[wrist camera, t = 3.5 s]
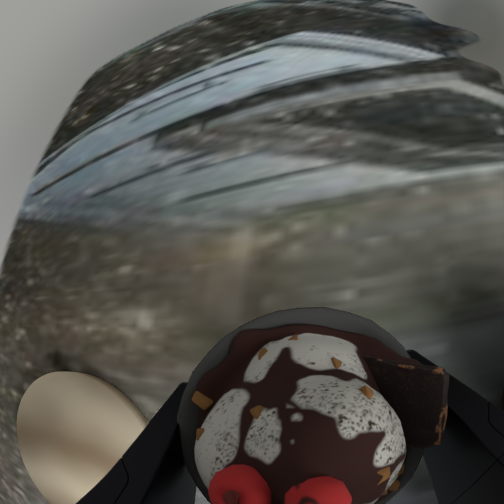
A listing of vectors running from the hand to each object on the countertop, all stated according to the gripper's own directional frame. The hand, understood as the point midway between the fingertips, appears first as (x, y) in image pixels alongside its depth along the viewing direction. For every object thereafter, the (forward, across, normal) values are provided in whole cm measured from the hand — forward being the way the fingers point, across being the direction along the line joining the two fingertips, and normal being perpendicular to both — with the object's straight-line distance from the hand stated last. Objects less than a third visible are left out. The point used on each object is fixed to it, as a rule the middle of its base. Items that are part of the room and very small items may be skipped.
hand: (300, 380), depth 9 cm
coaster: (+2, +14, +10) cm, 17 cm away
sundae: (+5, 0, +7) cm, 8 cm away
